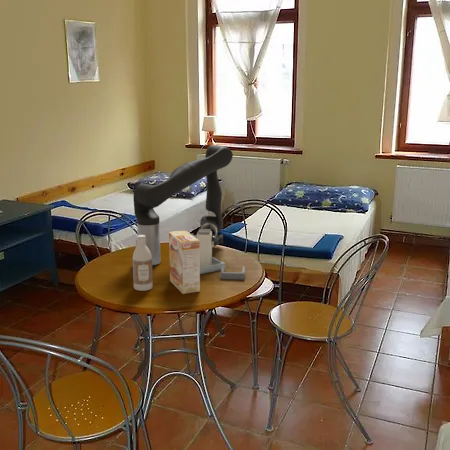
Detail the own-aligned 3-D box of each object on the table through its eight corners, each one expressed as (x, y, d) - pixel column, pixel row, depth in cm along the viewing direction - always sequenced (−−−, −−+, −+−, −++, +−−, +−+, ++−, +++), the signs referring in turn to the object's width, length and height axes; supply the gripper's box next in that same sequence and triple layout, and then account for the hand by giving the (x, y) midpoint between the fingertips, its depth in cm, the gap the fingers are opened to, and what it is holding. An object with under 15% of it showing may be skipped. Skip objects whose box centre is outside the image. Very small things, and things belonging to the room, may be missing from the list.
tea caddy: (210, 268, 222) (210, 232, 218) (197, 267, 222) (196, 232, 218) (211, 263, 228) (211, 228, 224) (198, 263, 228) (198, 228, 224)
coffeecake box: (169, 280, 209) (168, 231, 204) (186, 278, 212) (186, 229, 207) (182, 294, 196) (181, 242, 191) (200, 291, 199) (200, 240, 194)
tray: (194, 275, 215) (194, 268, 215) (178, 265, 227) (178, 259, 226) (225, 269, 223) (225, 263, 222) (208, 260, 234) (208, 254, 233)
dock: (244, 279, 211) (244, 273, 210) (220, 279, 212) (220, 272, 211) (244, 272, 219) (244, 266, 219) (222, 271, 220) (222, 265, 219)
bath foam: (134, 292, 198) (132, 238, 193) (133, 285, 204) (131, 233, 199) (153, 290, 199) (152, 237, 194) (151, 284, 206) (150, 232, 201)
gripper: (191, 224, 237) (186, 234, 221) (224, 225, 236) (221, 235, 221) (191, 240, 239) (187, 252, 223) (224, 241, 238) (221, 252, 222)
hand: (204, 243), depth 222 cm, fingers open, 8 cm apart
